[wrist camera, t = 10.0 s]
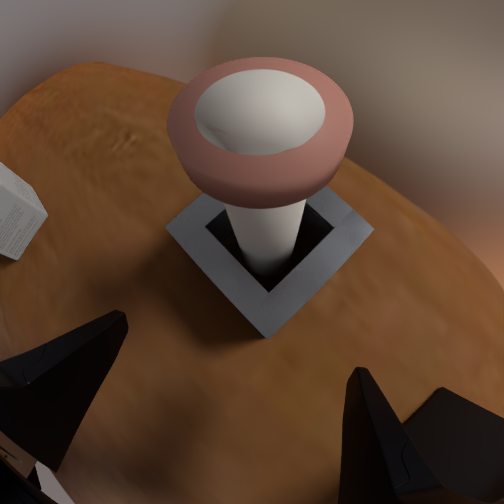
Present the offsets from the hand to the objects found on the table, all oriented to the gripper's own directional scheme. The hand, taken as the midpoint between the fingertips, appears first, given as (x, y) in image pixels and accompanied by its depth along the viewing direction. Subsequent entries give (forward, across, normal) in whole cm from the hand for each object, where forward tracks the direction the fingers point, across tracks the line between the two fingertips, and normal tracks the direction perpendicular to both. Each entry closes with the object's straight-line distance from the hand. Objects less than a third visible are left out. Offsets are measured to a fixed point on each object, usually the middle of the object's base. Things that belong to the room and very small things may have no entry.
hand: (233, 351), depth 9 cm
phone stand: (+1, -16, +10) cm, 19 cm away
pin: (+10, 0, +1) cm, 10 cm away
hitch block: (+10, 0, +1) cm, 10 cm away
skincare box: (+9, +25, +3) cm, 26 cm away
